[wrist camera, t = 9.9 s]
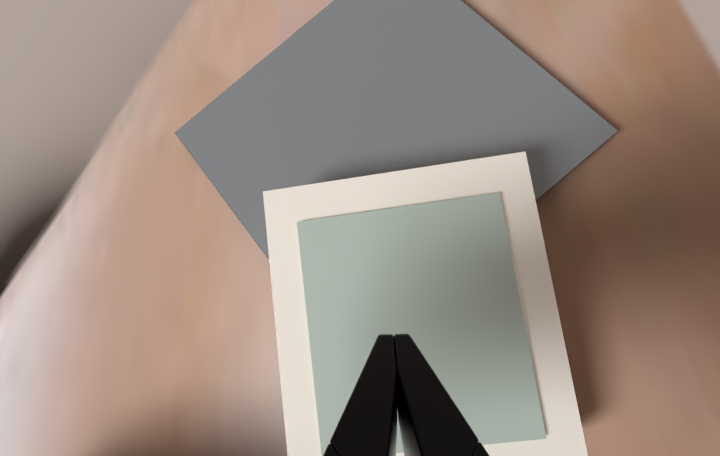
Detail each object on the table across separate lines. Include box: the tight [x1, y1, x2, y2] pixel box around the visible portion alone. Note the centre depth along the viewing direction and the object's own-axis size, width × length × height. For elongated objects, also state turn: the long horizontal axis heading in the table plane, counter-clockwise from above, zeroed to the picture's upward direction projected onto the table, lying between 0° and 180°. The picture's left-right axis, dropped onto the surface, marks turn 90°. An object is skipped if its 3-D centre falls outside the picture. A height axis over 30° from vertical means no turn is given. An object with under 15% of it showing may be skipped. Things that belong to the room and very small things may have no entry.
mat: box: [175, 0, 618, 260], centre depth 20 cm, size 17×18×1 cm
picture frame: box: [263, 151, 588, 456], centre depth 16 cm, size 3×12×13 cm
